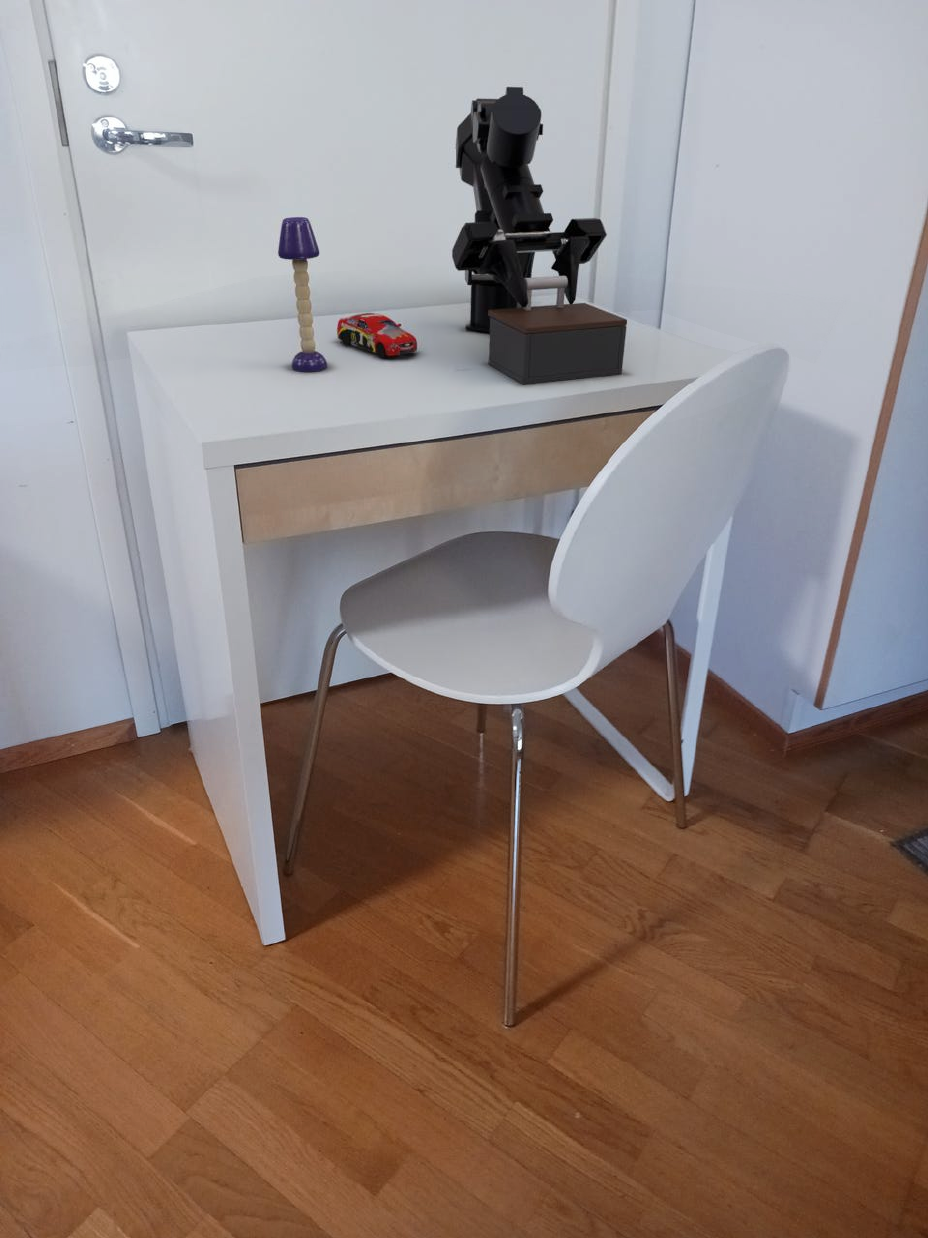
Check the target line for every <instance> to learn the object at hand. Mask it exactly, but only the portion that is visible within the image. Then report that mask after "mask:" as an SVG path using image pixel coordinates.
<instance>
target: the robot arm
mask: <svg viewBox="0 0 928 1238" xmlns="http://www.w3.org/2000/svg"><path fill="white" fill-rule="evenodd" d="M541 121H542V109H541V108H540V106H539V105H538V103H537V102H536V101H535V100H534V99H533V98H531V97H530V96H528V95H525V94H524V87H523V86H506V88H505V94H504V95H502V96H500V97H499V98H476V99H475V100H473V99H472V100H471V105H470V112H469V114H468V115H467V116H466V117H465V118H463V120H462V122H460V124H458V126H457V127H456V128H457V129H456V139H455V149H456V165H455V169H459V175H460V180H461V182H463V183H464V184H466V185H469V186H470V187H472V189H473V196H474V203H475V210H476V211H475V213H474V222H464V224H463V226H462V227H461V229H460V231H459V233H458V236H457V238H456V240H455V242H454V245H453V247H452V249H451V257H452V260H453V264H454V267H455V269H456V270H457V271H458V272H459V271H460V272H463V271H464V280H465V284H466V285H467V286H470V311H469V313H470V314H469V323H468V324H466V325H465V326H464V329H465V330H467V331H468V330H469V331H475V332H484V333H490V316H488V310H494V309H507V308H521V307H526V306H527V304H528V296H527V289H526V285H525V281H524V278H532V275H533V274H532V273H533V267H534V266H533V265H534V261H535V255H536V253H539V252H540V253H541V252H543V253H544V252H551V253H552V255H553V256H554V262H553V263H552V264H551V267H550V269H551V270H552V271H555V272H556V273H557V274H558V276H566V277H567V280H568V284H567V287H566V288H565V292H564V297H566V299H567V302H568V304H575V301H576V300H577V289H578V281H579V270H580V265H585V264H586V263H588V262H590V261H591V260H592V258H593V257H594V255H595V254H596V252H597V250H598V249H599V248H600V246H601V244H602V243H603V242H604V240H605V239H606V237H607V236H608V233H607V232H606V229H605V226H604V223H603V221H602V220H601V218H596V217H588V218H570V221H569V222H568V224H567V226H566V228H565V229H564V231H561V232H560V231H559V232H557V231H556V232H552V231H551V228H550V227H551V225H552V223H553V221H554V219H553V215H552V213H551V212H545V211H544V208H543V205H542V203H541V197H542V195H543V193H544V188H543V186H542V184H540V183H539V184H538V183H537V184H536V183H535V182H534V178H533V176H532V173H531V170H530V167H529V164H531V162H532V161H533V158H534V156H535V151H536V145H537V141H539V138H540V136H543V135H544V124H543V123H541Z"/></svg>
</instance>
